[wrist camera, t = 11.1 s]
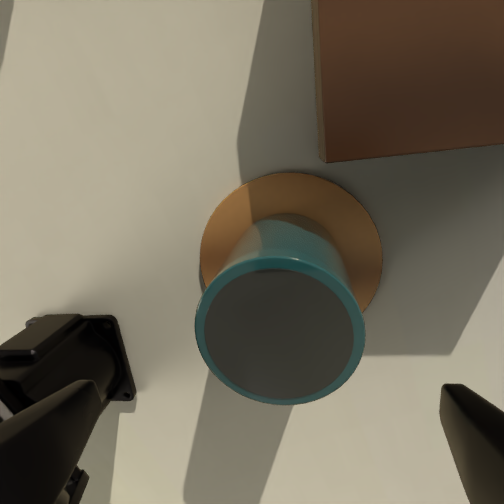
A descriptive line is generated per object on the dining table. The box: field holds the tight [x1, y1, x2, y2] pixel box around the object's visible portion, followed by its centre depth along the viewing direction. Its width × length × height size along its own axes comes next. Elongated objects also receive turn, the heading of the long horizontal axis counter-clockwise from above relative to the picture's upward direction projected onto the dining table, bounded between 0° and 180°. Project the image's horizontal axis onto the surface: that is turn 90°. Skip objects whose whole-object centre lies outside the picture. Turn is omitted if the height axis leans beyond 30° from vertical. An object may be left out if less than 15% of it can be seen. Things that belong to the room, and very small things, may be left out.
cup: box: [195, 213, 366, 405], centre depth 15 cm, size 6×6×7 cm
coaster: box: [200, 172, 383, 313], centre depth 18 cm, size 10×10×1 cm
